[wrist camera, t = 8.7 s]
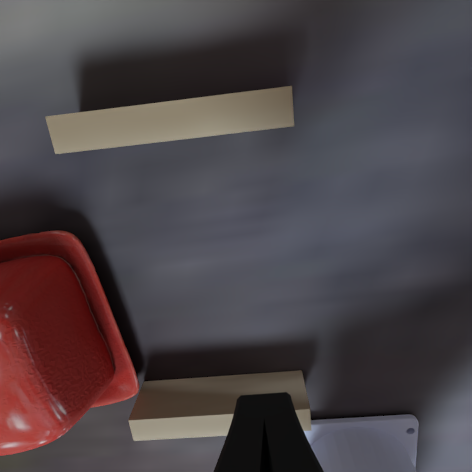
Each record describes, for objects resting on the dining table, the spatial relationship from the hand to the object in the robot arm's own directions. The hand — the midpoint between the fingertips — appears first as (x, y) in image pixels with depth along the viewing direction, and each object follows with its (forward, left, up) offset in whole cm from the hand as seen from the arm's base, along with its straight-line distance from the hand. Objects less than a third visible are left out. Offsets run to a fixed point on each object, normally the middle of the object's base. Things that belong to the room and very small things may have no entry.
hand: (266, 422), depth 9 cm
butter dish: (-3, +14, -11) cm, 18 cm away
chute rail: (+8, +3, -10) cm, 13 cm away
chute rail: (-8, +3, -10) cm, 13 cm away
